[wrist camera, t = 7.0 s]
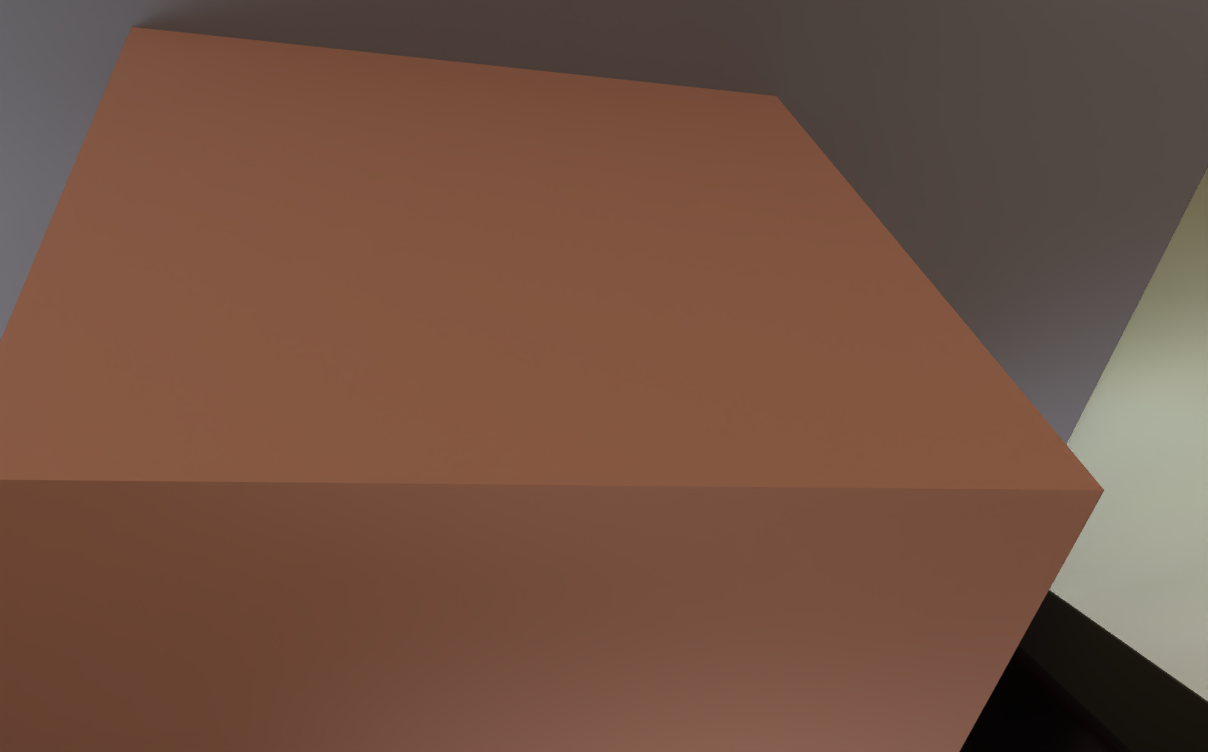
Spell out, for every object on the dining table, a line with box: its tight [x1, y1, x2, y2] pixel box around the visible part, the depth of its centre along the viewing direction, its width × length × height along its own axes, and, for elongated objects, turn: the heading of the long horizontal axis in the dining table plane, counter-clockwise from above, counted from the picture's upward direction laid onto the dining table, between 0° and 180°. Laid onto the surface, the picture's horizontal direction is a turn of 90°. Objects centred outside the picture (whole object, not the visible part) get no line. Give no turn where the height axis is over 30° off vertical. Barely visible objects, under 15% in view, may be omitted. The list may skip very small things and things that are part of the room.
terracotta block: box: [0, 27, 1104, 752], centre depth 8 cm, size 5×5×5 cm
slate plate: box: [0, 0, 1208, 444], centre depth 10 cm, size 14×14×1 cm
